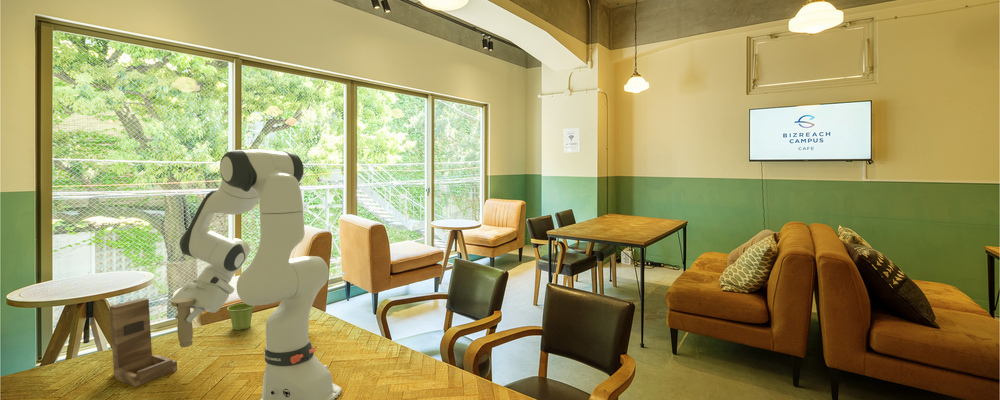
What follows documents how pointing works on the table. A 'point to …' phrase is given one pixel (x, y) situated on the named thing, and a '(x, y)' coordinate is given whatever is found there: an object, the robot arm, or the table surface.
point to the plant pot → (240, 315)
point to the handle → (183, 326)
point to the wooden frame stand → (135, 344)
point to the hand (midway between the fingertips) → (182, 320)
